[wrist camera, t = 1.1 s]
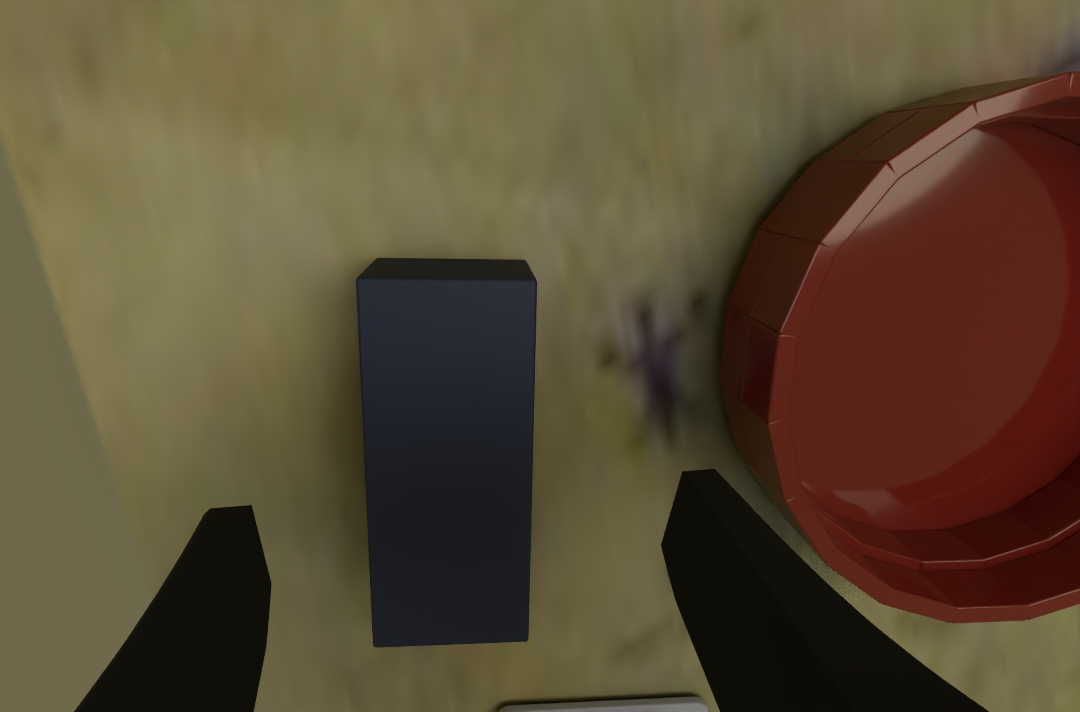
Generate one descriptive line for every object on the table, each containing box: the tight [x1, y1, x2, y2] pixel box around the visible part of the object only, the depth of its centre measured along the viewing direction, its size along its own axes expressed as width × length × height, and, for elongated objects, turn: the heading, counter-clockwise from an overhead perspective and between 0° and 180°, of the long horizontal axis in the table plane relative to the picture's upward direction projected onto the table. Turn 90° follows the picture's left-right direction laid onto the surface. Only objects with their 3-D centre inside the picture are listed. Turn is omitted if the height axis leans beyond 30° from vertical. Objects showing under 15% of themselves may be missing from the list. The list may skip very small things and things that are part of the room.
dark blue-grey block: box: [356, 258, 537, 647], centre depth 21 cm, size 11×5×4 cm, turn 178°
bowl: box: [719, 71, 1080, 623], centre depth 21 cm, size 16×16×4 cm
